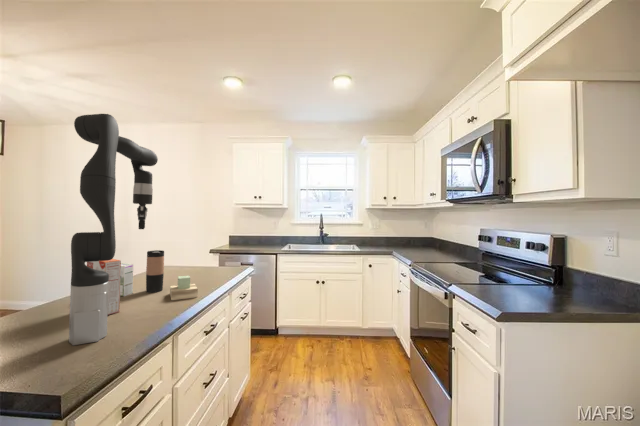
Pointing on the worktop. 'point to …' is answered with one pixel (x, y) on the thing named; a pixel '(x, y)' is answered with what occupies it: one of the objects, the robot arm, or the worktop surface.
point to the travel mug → (154, 271)
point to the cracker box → (110, 281)
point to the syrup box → (126, 279)
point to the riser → (183, 292)
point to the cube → (183, 282)
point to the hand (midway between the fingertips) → (141, 228)
